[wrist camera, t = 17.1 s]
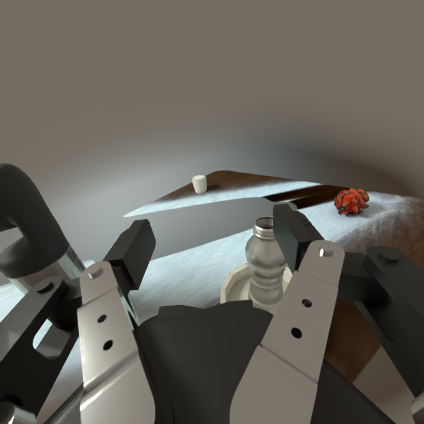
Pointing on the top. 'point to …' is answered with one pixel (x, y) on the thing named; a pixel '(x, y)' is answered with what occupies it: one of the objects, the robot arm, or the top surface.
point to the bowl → (243, 284)
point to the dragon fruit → (351, 201)
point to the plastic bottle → (265, 266)
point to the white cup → (199, 183)
